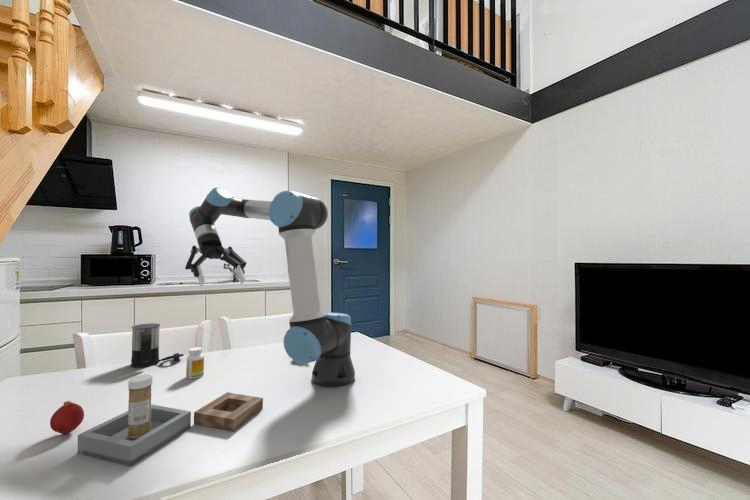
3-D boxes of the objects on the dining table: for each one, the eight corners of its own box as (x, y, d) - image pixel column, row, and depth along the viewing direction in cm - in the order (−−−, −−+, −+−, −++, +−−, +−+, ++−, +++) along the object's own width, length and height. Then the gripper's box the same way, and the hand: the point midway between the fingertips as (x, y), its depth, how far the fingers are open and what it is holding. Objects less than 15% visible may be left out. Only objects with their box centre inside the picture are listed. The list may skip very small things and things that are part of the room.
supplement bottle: (207, 373, 113) (207, 346, 113) (197, 379, 108) (197, 351, 108) (193, 373, 114) (193, 346, 114) (182, 379, 108) (183, 350, 108)
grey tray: (190, 427, 79) (190, 411, 79) (130, 466, 64) (131, 446, 64) (143, 418, 83) (144, 403, 83) (77, 453, 68) (77, 434, 68)
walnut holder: (262, 408, 89) (262, 397, 89) (233, 431, 78) (233, 419, 78) (226, 402, 92) (227, 392, 92) (193, 424, 81) (194, 412, 81)
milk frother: (126, 364, 121) (127, 325, 121) (171, 354, 134) (172, 319, 134) (140, 373, 113) (141, 331, 113) (187, 361, 126) (188, 324, 126)
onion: (65, 427, 78) (66, 395, 78) (90, 426, 78) (91, 394, 78) (42, 441, 72) (43, 406, 72) (69, 440, 73) (70, 406, 73)
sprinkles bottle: (153, 427, 77) (155, 372, 77) (147, 438, 72) (148, 379, 73) (131, 431, 75) (132, 374, 75) (123, 442, 71) (124, 382, 71)
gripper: (238, 247, 129) (254, 286, 119) (167, 245, 111) (180, 291, 101) (244, 234, 126) (261, 273, 116) (172, 229, 107) (185, 276, 97)
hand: (223, 282), depth 108 cm, fingers open, 13 cm apart
